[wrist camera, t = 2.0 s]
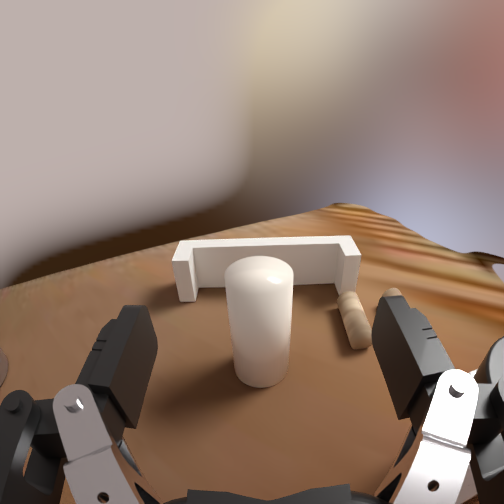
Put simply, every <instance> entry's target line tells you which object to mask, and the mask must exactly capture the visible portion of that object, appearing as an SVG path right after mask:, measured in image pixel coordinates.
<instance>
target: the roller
mask: <svg viewBox="0 0 504 504" xmlns="http://www.w3.org/2000/svg"><path fill="white" fill-rule="evenodd" d="M337 304H338V307H339V310H340V313H341V316H342V320H343V323H344V326H345V329H346V332H347V335H348V338H349V342H350V345H351V347H352V348H353V349H355V350H356V349H365V348H368V347H369V346H371V345H372V337H371V334H372V330H371V327H370V325H369V322H368V320H367V317H366V315H365V313H364V310H363V308H362V305H361V303H360V301H359V298H358V296H357V294H356V293H355V292H352V291H347V292H344V293H342V294H341V295H340V296H339V297H338V299H337Z"/></svg>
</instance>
